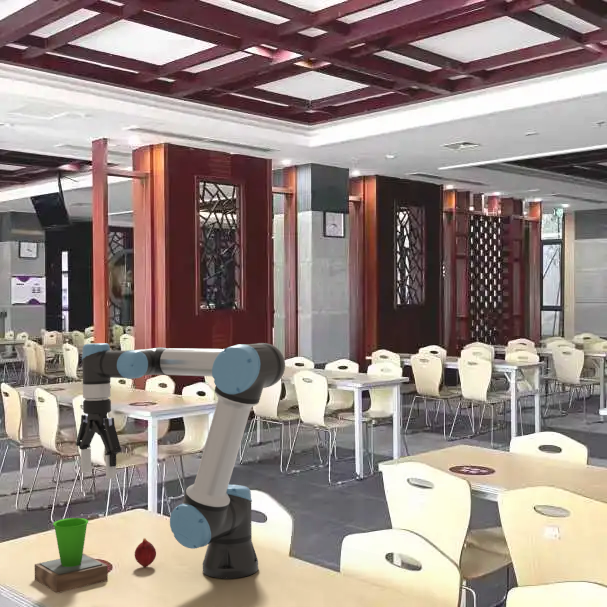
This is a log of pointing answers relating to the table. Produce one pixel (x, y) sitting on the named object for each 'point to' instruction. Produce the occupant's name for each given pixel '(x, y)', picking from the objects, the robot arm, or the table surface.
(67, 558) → the cup
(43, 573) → the flat stove
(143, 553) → the onion
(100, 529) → the table surface
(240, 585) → the table surface
